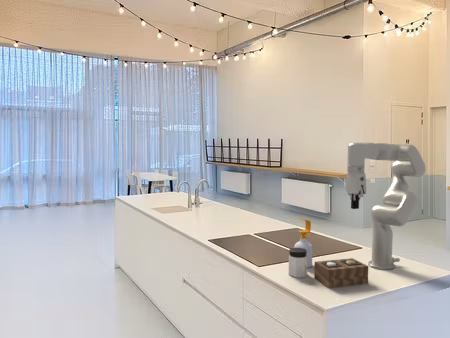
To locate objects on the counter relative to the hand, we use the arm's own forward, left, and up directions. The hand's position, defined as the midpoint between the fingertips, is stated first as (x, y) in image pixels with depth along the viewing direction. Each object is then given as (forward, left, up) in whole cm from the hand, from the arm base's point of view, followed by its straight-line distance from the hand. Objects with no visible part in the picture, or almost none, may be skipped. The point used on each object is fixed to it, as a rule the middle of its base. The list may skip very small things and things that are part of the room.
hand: (354, 208), depth 177 cm
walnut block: (+10, +5, -32) cm, 34 cm away
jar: (+25, -8, -32) cm, 42 cm away
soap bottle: (+16, -20, -32) cm, 41 cm away
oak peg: (+5, +5, -32) cm, 32 cm away
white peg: (+15, +5, -32) cm, 35 cm away
